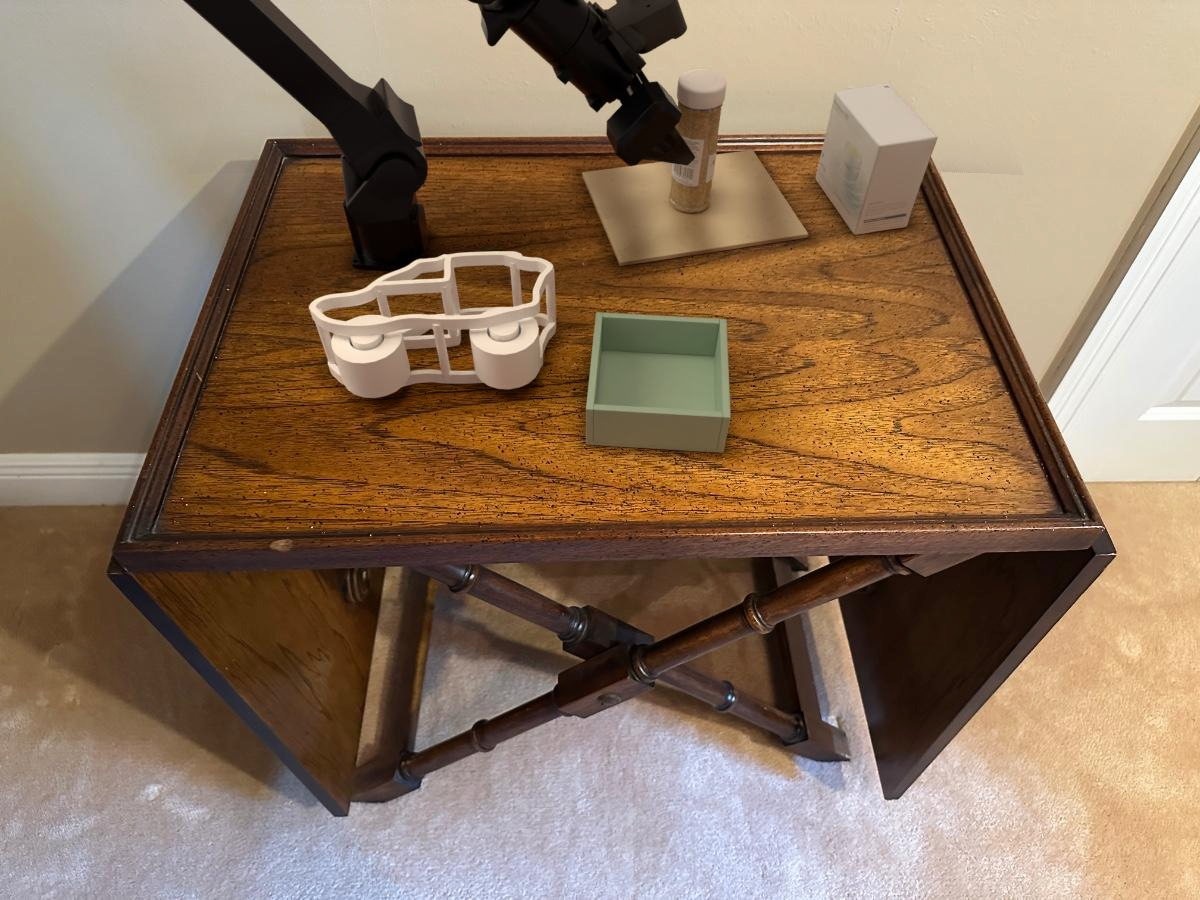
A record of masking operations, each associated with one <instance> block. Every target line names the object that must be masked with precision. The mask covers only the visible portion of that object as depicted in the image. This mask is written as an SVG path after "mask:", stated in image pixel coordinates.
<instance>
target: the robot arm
mask: <svg viewBox="0 0 1200 900" xmlns="http://www.w3.org/2000/svg"><path fill="white" fill-rule="evenodd" d="M182 1H183V2H184V3H185V4H187V5H188V6H189V7H190V8H191V9H192V10H193V11H194V12H195V13H197V14H198V16H200V17H201V18H203V20H205V21H206V22H207V23H208V24H209V25H210V26H211V27H212V28H214V29H215V30H216V31H217V32H218V33H219V34H220V35H221V36H223V37H224V38H225V39H226V40H227V41H228V42H230V44H232V45H233V46H234V47H235V48H236V49H237V50H239V52H240V53H242V54H243V55H244V56H245V57H246V58H247V59H249V60H250V61H251V62H252V63H253V64H254V65H255V66H257V67H258V68H259V69H260V70H261V71H262V72H263V73H264V74H266V76H268V77H269V78H270V79H271V80H272V81H274V82H275V83H276V84H277V85H278V86H279V87H280V88H282V89H283V90H284V91H285V92H286V93H287V94H288V95H290V96H291V97H292V98H293V99H294V100H295V101H296V102H297V103H298V104H299V105H300V106H302V107H303V108H304V109H305V110H306V111H307V112H309V114H311V115H312V116H313V117H314V118H315V119H317V120H318V121H319V122H320V123H321V124H322V125H323V126H324V127H325V129H327V131H328V133H329V134H330V136H331V137H332V139H333V141H334V142H335V143H336V145H337V147H338V149H339V150H340V152H341V153H342V154H341V156H340V166H341V167H340V168H341V173H342V174H341V175H342V183H343V190H344V191H343V192H344V200H343V202H342V207H343V211H344V215H345V218H346V222H347V227H348V230H349V233H350V238H351V240H352V244H353V248H354V252H353V255H352V258H351V259H350V264H351V266H352V268H357V269H371V270H372V269H373V270H389V271H390V270H391V271H397V270H399V269H402V268H404V267H406V266H408V265H409V264H411V263H412V262H414V261H416V260H418V259H422V255H424V254H425V253H426V249H427V247H428V243H429V240H430V233H429V228H428V223H427V217H426V212H425V206H424V205H423V203H419V202H418V196H417V192H418V191H419V190H420V189H421V188H422V187H423V185H425V183H426V180H427V178H428V174H429V165H428V160H427V156H426V152H425V147H424V143H423V139H422V135H421V130H420V126H419V123H418V119H417V114H416V111H415V110H416V109H415V106H414V105H412V104H410V103H409V102H407V101H404V100H403V99H402V98H401V97H399V96H398V95H397V93H396V92H395V90H394V89H393V88H392V86H391V85H390V84H389V82H388V81H387V80H386V79H385V78H384V77H381V78H379V80H378V81H377V83H376V84H375V85H374V87H370V86H368V85H365V84H363V83H361V82H357V81H356V80H354V79H353V78H352V77H350V76H349V75H348V74H347V73H346V72H345V71H344V70H343V69H342V68H341V67H340V66H339V65H338V64H337V63H336V62H335V61H334V60H333V59H332V58H331V57H330V56H329V55H328V54H326V52H324V51H323V50H322V49H321V48H320V47H319V46H318V45H317V44H316V43H315V42H314V41H313V40H312V39H311V38H310V37H309V36H308V35H307V34H306V33H305V32H304V31H303V30H301V28H300V27H298V26H297V25H296V24H295V22H294V21H292V20H291V19H290V17H288V16H287V15H286V14H285V13H284V12H283V11H282V10H281V9H280V8H279V7H278V6H277V5H275V3H274V2H273V1H272V0H182ZM467 1H468V2H470V3H472V4H477V6H478V9H479V11H480V18H481V19H480V20H481V21H480V27H481V30H482V32H483V35H484V37H485V41H486V43H487V45H488V46H489V47H495V46H496V45H497V44H498V43H499V42H500V40H501V39H502V38H503V37H504V35H505V34H506V33H507V32H508V31H509V30H510V31H511V32H512V33H513V34H514V35H516V37H518V38H519V39H520V40H521V41H522V42H523V43H525V44H526V45H527V46H528V47H529V48H530V49H531V50H533V52H535V53H536V54H537V55H538V56H540V58H542V59H543V60H544V61H545V62H546V63H547V64H548V65H550V66H551V67H552V70H553V72H554V74H555V77H556V79H557V80H559V81H560V82H561V83H563V85H564V86H566V85H567V84H568V83H570V84H571V85H572V86H574V88H576V89H577V90H578V91H579V92H580V93H581V94H583V95H584V98H585V100H586V102H587V104H588V106H589V107H590V108H591V109H592V110H593V111H594V112H595V113H599V112H600V110H601V109H602V108H604V106H605V105H606V104H612V103H614V102H615V101H616V100H617V101H619V102H620V104H621V105H620V106H619V107H618V108H617V109H616V110H615V111H614V112H613V114H612V115H611V116H610V117H608V119H607V120H606V134H605V135H606V137H607V139H608V141H609V143H610V145H611V147H612V149H613V151H614V154H615V155H616V156H617V157H618V158H619V159H621V161H623V162H624V163H625V164H626V165H627V166H636V165H639V163H641V162H642V161H651V162H652V161H653V162H667V163H673V164H680V165H686V166H687V165H689V164H690V163H691V162H692V161H693V160H694V159H695V156H694V154H693V152H692V151H691V149H690V148H689V146H688V145H687V143H686V142H685V140H684V139H683V137H682V136H681V135H680V133H679V132H678V130H677V129H676V127H675V126H676V125H677V124H678V123H679V122H680V119H681V116H682V113H681V111H680V109H679V108H678V103H676V101H675V99H674V98H673V96H671V94H670V93H669V92H668V91H667V89H666V88H665V87H664V86H663V85H662V84H660V82H659V81H657V80H656V81H650V80H649V79H648V77H647V76H646V74H645V72H644V70H643V68H644V67H645V66H646V65H647V62H646V60H645V59H644V58H643V56H642V55H646V54H648V53H650V52H652V51H653V50H656V49H657V48H659V47H661V46H663V45H664V44H666V43H667V42H669V41H671V40H677V39H679V38H680V37H682V36H683V35H685V33H686V32H687V30H688V25H687V22H686V20H685V17H684V14H683V11H682V7H681V5H680V2H679V0H615V4H614V5H611V6H610V7H609V8H605V9H604V8H602V7H601V5H600V4H599V3H598V2H596V1H594V2H593V3H592V1H591V0H588V2H587V1H586V0H467Z"/></svg>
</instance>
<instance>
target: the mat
mask: <svg viewBox="0 0 1200 900" xmlns="http://www.w3.org/2000/svg"><path fill="white" fill-rule="evenodd" d="M671 171H672V163H667V162H660V161H656V162H650V163H643V164H637V165H636V166H629V165H626V166H621V167H620V166H619V167H612V168H605V169H597V170H590V171H589V170H588V171H583V172H582V173H581V177H582V179H583V182H584V185H585V186H586V188H587V189H586V190H587V191H588V193H589V196H590V198H591V200H592V203H593V205H594V208H595V210H596V212H597V215H598V217H599V220H600V222H601V225H602V227H603V229H604V231H605V234H606V237H607V239H608V242H609V244H610V247H611V249H612V252H613V253H614V256H615V259H616V260H617V264H618V266H619V267H625V266H630V265H636V264H637V265H638V264H644V263H651V262H657V261H658V262H659V261H664V260H670V259H678V258H684V257H690V256H696V255H704V254H710V253H717V252H722V251H728V250H729V251H730V250H735V249H736V250H737V249H742V248H749V247H756V246H762V245H769V244H775V243H781V242H788V241H794V240H795V241H796V240H801V239H807V238H808V237H809V232H808V231H807V229H806V228H805V227H804V225H803V224H802V222H801V220H800V218H799V217H798V216H797V214H796V213H795V212H794V210H793V208H792V207H791V205H790V204H789V202H788V201H787V199H786V198H785V196H784V195H783V192H781V191H780V188H779V187H778V186H777V184H776V182H775V181H774V180H773V178H772V176H771V175H770V173H769V172H768V170H767V169H766V168H765V166H764V165H763V163H762V162H761V160H760V159H759V156H757V154H756V152H755V151H754V150H753V149H748V150H741V151H734V152H725V153H718V154H717V153H716V160H715V168H714V175H713V179H712V188H711V202H710V204H709V206H708V207H707V208H706V209H704V210H702V211H700V212H694V213H688V212H683V211H680V210H678V209H676V208H674V207H673V206H672V205H671V204H670V202H669V194H670V190H671V179H672V173H671Z"/></svg>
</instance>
